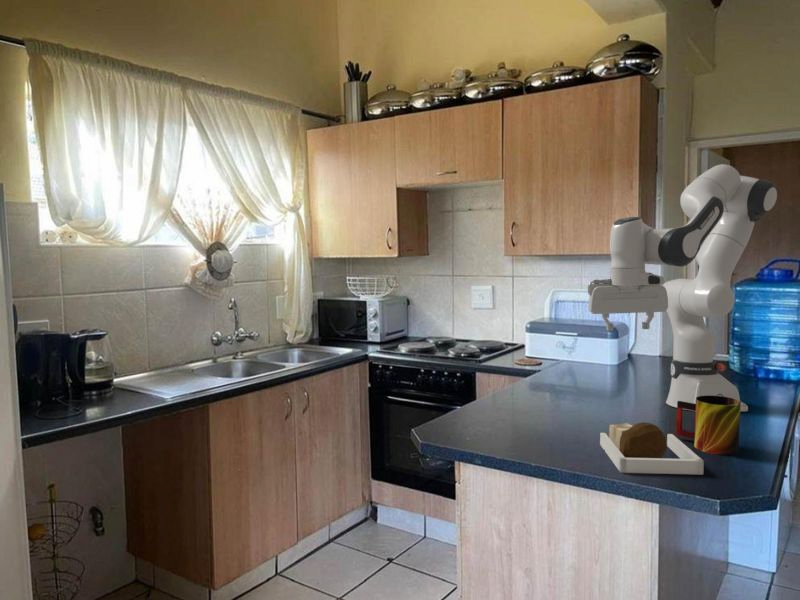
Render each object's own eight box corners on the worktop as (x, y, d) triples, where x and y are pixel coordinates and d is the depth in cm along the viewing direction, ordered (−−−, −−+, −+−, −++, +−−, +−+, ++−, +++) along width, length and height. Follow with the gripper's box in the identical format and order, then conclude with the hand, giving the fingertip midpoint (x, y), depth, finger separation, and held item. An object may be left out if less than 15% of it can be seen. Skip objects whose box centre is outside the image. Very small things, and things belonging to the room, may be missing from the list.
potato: (606, 455, 145) (607, 419, 144) (652, 452, 147) (653, 416, 147) (626, 468, 137) (627, 430, 136) (674, 464, 139) (675, 426, 138)
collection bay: (672, 445, 152) (672, 434, 151) (703, 474, 133) (703, 461, 132) (600, 444, 153) (600, 432, 153) (620, 472, 134) (620, 459, 134)
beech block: (639, 448, 150) (626, 442, 155) (639, 428, 150) (627, 423, 154) (621, 450, 149) (609, 444, 154) (621, 430, 148) (609, 424, 153)
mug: (675, 438, 158) (677, 392, 157) (736, 445, 152) (738, 397, 151) (675, 449, 149) (677, 401, 148) (740, 457, 143) (742, 407, 142)
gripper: (590, 280, 162) (591, 332, 164) (670, 277, 160) (670, 330, 162) (585, 279, 168) (586, 328, 170) (662, 276, 167) (662, 326, 168)
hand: (627, 329), depth 166 cm, fingers open, 8 cm apart
